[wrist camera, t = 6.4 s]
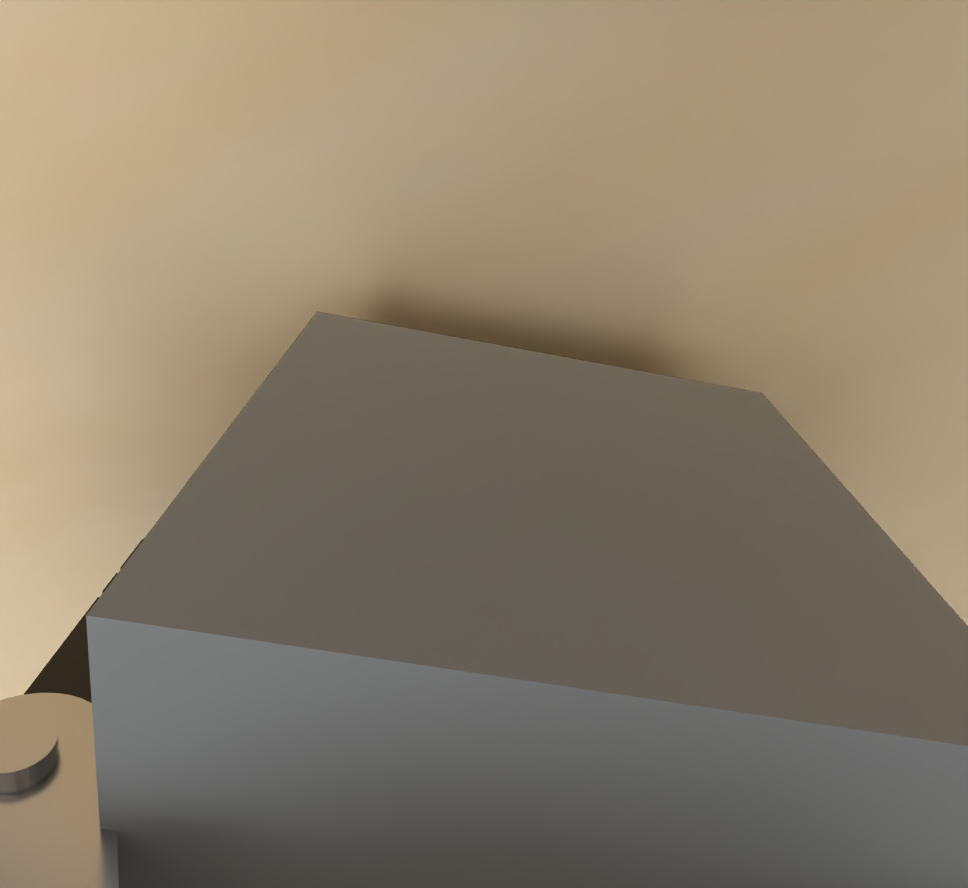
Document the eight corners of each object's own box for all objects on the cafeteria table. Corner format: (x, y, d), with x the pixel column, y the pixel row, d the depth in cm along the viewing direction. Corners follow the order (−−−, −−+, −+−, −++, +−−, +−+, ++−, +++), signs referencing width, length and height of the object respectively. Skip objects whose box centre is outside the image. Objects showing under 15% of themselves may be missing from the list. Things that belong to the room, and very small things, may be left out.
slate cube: (762, 393, 10) (1088, 764, 4) (638, 713, 12) (751, 1193, 7) (317, 311, 9) (86, 614, 4) (285, 662, 12) (120, 1130, 7)
